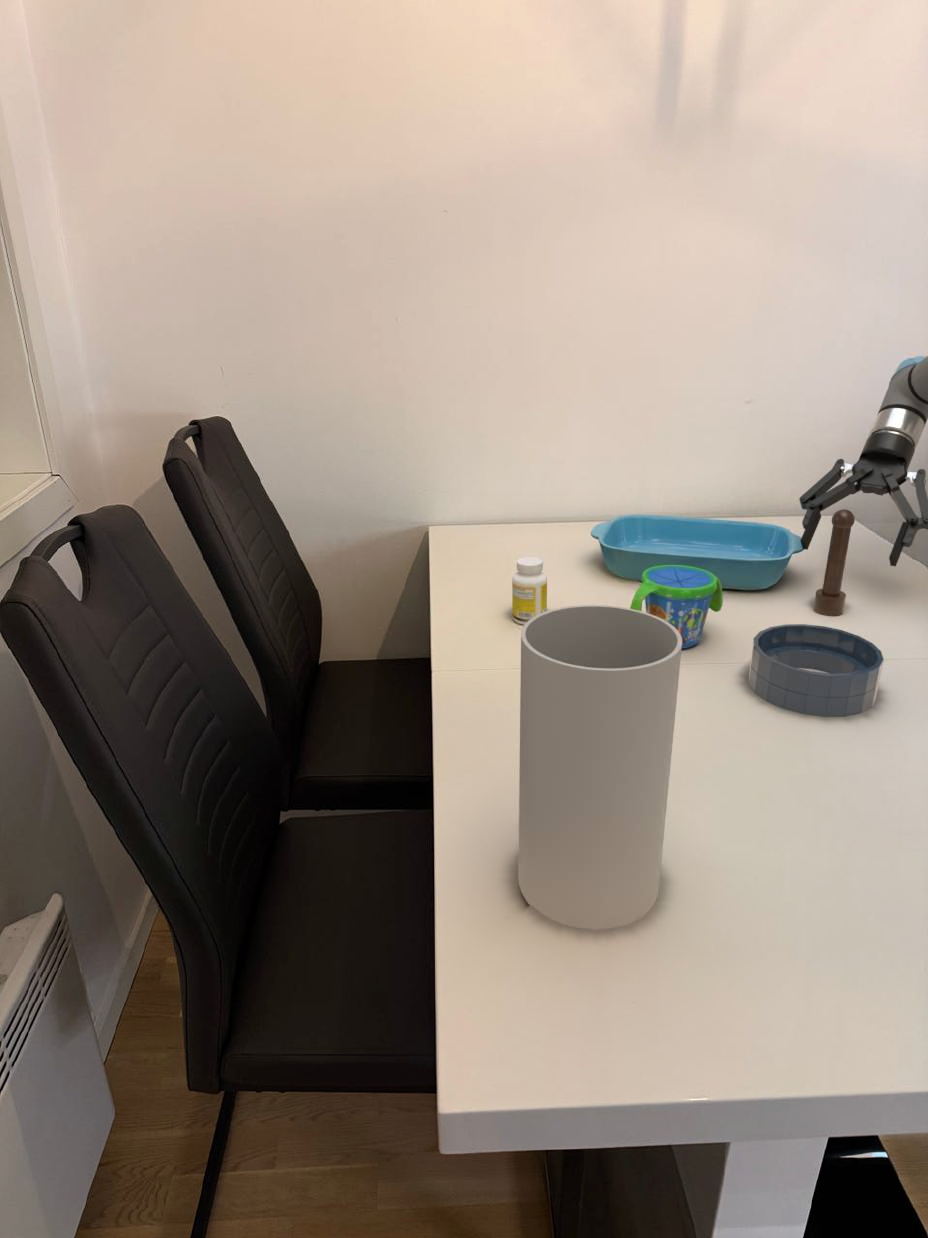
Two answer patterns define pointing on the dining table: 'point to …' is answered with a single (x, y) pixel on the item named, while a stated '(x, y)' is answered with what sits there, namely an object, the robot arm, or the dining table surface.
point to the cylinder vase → (595, 761)
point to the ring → (821, 649)
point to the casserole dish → (698, 548)
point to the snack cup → (680, 598)
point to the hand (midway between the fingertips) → (846, 553)
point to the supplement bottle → (528, 590)
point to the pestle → (835, 566)
